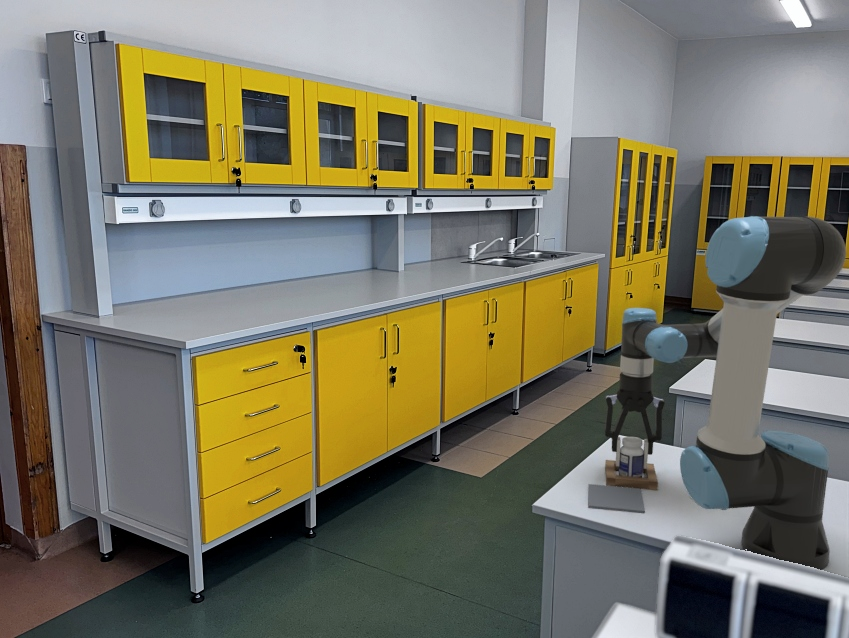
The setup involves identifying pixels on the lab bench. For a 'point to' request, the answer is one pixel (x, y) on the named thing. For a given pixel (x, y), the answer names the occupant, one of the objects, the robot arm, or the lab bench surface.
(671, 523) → the lab bench surface
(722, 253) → the robot arm
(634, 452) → the pill bottle
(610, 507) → the rubber mat
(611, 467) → the wooden square frame
